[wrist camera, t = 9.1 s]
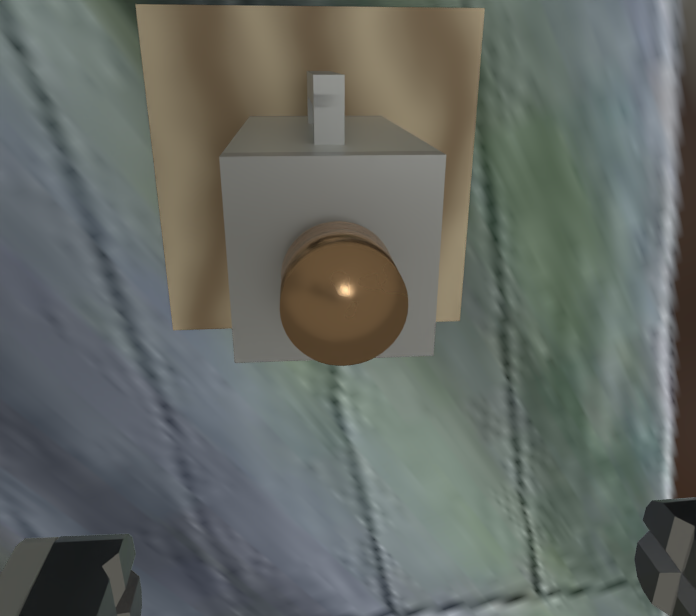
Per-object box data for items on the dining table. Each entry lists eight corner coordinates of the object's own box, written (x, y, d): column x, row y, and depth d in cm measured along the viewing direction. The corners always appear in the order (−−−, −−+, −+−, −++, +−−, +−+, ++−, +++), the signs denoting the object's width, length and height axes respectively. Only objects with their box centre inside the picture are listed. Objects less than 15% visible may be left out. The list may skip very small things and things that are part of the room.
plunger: (272, 230, 38) (255, 393, 20) (268, 136, 36) (244, 217, 17) (363, 228, 39) (431, 386, 20) (364, 135, 37) (442, 214, 18)
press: (256, 243, 40) (234, 363, 24) (247, 69, 36) (213, 76, 20) (378, 241, 40) (433, 355, 25) (381, 70, 36) (451, 76, 21)
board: (177, 321, 43) (173, 330, 41) (141, 6, 35) (135, 4, 34) (454, 312, 44) (459, 320, 43) (477, 10, 37) (484, 8, 36)
